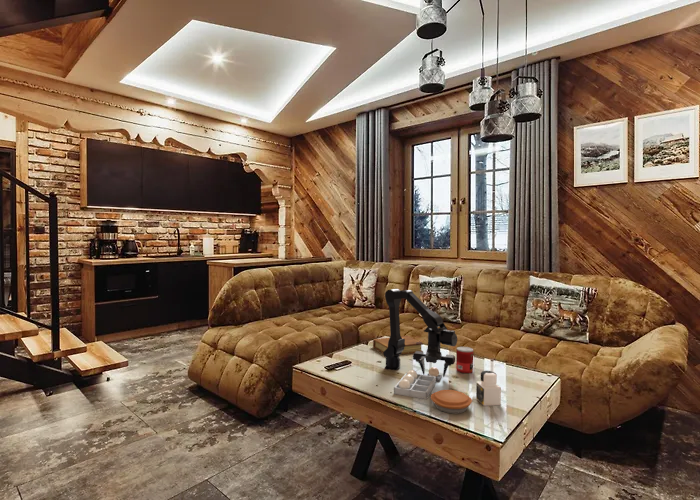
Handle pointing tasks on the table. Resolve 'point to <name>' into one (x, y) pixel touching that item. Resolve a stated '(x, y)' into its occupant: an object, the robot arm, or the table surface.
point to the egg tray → (417, 387)
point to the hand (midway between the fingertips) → (433, 375)
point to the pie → (451, 401)
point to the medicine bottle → (488, 389)
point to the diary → (410, 347)
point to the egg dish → (437, 377)
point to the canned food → (464, 359)
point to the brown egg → (433, 372)
